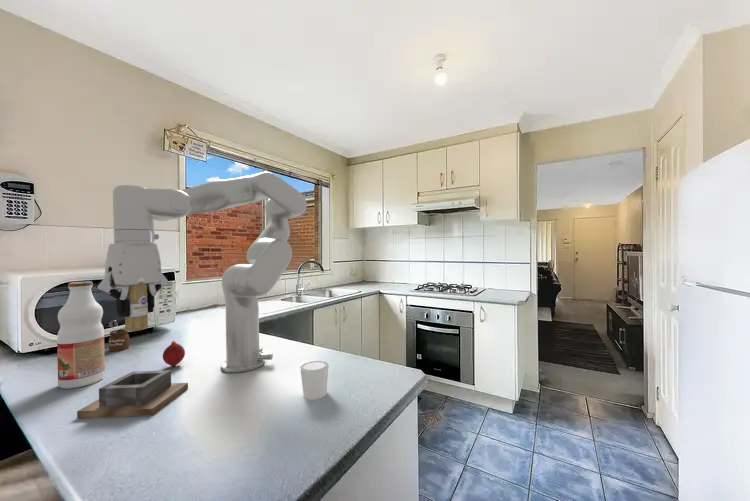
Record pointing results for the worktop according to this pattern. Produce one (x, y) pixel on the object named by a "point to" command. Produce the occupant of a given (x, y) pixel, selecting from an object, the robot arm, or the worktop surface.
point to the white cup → (314, 379)
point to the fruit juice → (80, 338)
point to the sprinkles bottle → (137, 307)
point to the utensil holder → (118, 339)
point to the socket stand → (134, 395)
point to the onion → (173, 354)
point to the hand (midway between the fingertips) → (136, 313)
